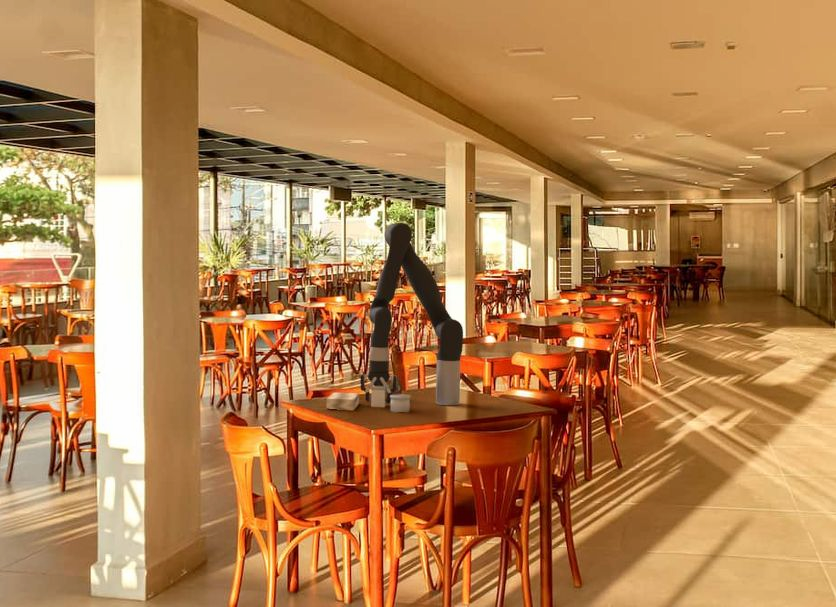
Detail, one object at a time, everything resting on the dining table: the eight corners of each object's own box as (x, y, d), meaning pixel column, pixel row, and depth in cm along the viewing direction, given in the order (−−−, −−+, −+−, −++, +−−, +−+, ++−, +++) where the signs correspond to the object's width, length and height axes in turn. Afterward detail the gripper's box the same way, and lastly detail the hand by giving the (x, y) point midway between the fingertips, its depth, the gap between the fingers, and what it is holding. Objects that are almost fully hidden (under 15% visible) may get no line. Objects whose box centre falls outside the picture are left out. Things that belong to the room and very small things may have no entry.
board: (358, 403, 360) (358, 393, 360) (353, 410, 344) (353, 399, 344) (333, 402, 361) (333, 392, 361) (326, 409, 345) (326, 398, 345)
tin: (378, 402, 364) (378, 381, 363) (372, 402, 366) (372, 380, 365) (402, 398, 376) (402, 377, 375) (396, 397, 378) (396, 377, 377)
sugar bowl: (410, 409, 349) (411, 394, 349) (409, 413, 341) (409, 397, 341) (390, 409, 349) (390, 393, 349) (388, 412, 342) (389, 396, 342)
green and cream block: (386, 405, 359) (386, 386, 358) (384, 407, 353) (385, 388, 353) (372, 404, 359) (372, 386, 358) (370, 407, 353) (370, 388, 353)
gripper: (398, 358, 358) (397, 401, 359) (361, 357, 359) (360, 400, 360) (397, 360, 351) (396, 404, 352) (359, 359, 352) (358, 403, 353)
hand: (378, 402), depth 356 cm, fingers open, 7 cm apart
